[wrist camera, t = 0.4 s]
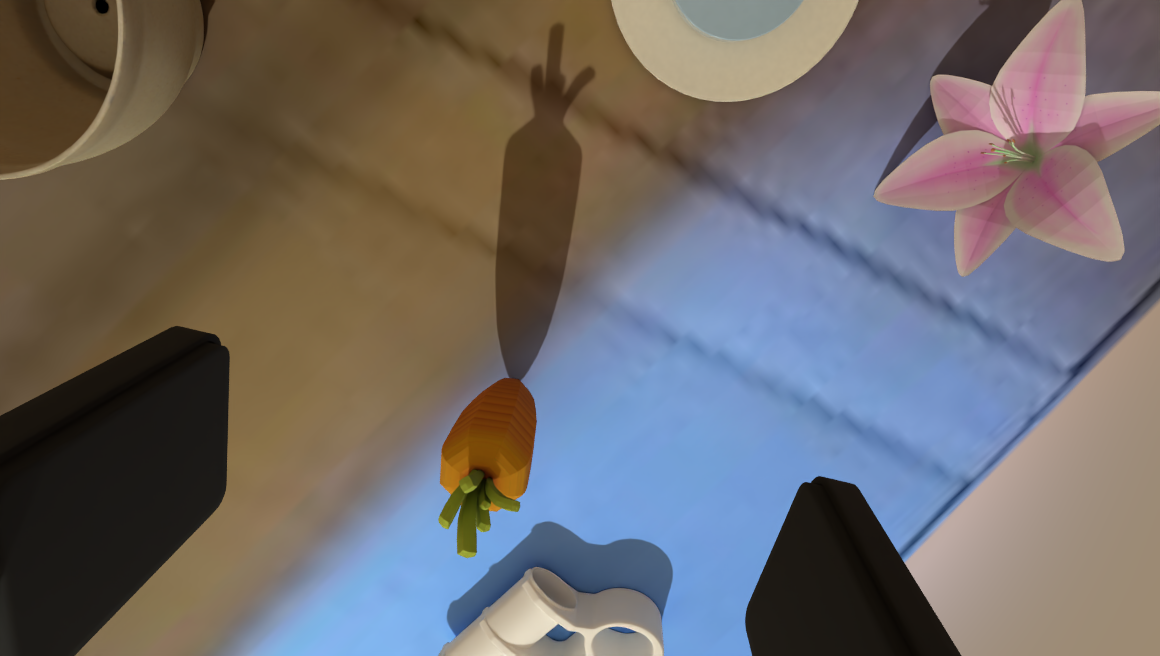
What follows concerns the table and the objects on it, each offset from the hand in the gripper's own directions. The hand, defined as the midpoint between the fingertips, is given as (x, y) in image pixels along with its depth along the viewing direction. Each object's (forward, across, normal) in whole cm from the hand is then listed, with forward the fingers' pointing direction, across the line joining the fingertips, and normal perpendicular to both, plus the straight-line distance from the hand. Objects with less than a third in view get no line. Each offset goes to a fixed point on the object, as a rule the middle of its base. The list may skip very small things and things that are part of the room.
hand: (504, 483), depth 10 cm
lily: (+29, -20, -8) cm, 36 cm away
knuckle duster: (+29, -6, +36) cm, 46 cm away
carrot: (+29, +2, +13) cm, 32 cm away
